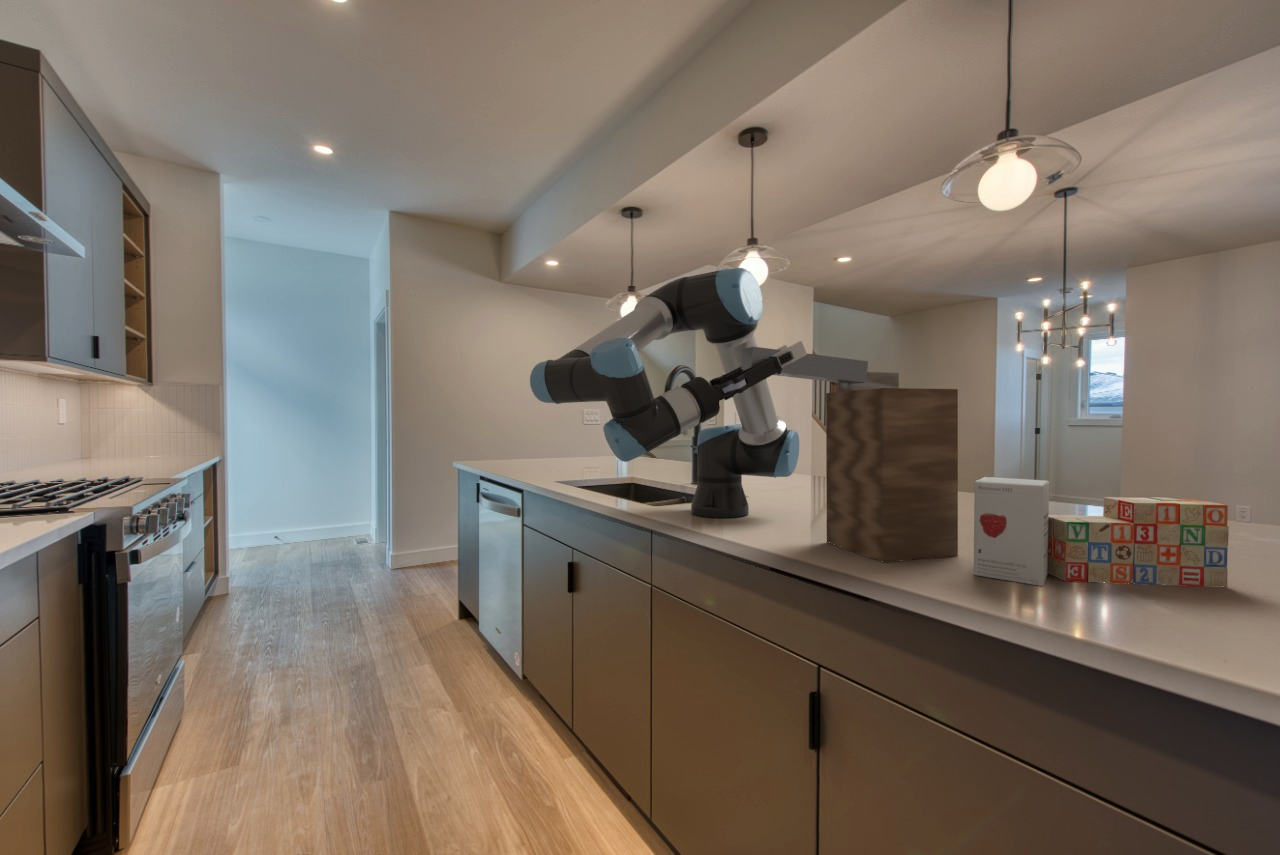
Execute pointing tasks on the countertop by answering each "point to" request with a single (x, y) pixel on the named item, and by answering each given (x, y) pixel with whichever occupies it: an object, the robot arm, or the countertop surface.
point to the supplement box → (1011, 529)
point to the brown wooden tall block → (892, 469)
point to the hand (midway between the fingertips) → (795, 350)
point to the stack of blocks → (1142, 543)
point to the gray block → (812, 366)
